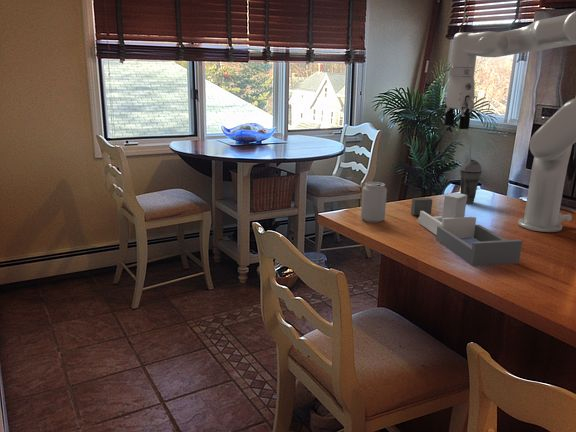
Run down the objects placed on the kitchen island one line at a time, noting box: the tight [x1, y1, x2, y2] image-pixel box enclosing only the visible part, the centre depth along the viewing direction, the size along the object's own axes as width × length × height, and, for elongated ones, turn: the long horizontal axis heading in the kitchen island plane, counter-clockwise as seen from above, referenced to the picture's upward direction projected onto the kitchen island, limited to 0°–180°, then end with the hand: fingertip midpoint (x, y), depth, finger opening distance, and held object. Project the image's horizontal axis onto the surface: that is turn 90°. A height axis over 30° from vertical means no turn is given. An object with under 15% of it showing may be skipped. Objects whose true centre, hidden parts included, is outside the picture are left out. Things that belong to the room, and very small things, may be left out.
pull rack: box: [410, 197, 477, 239], centre depth 164 cm, size 10×26×6 cm, turn 11°
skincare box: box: [442, 192, 467, 218], centre depth 155 cm, size 6×4×12 cm
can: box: [360, 181, 388, 224], centre depth 168 cm, size 8×8×12 cm
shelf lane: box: [435, 224, 523, 267], centre depth 143 cm, size 13×20×6 cm, turn 11°
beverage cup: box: [459, 146, 482, 205], centre depth 190 cm, size 7×7×20 cm
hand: (456, 127), depth 174 cm, fingers open, 9 cm apart
